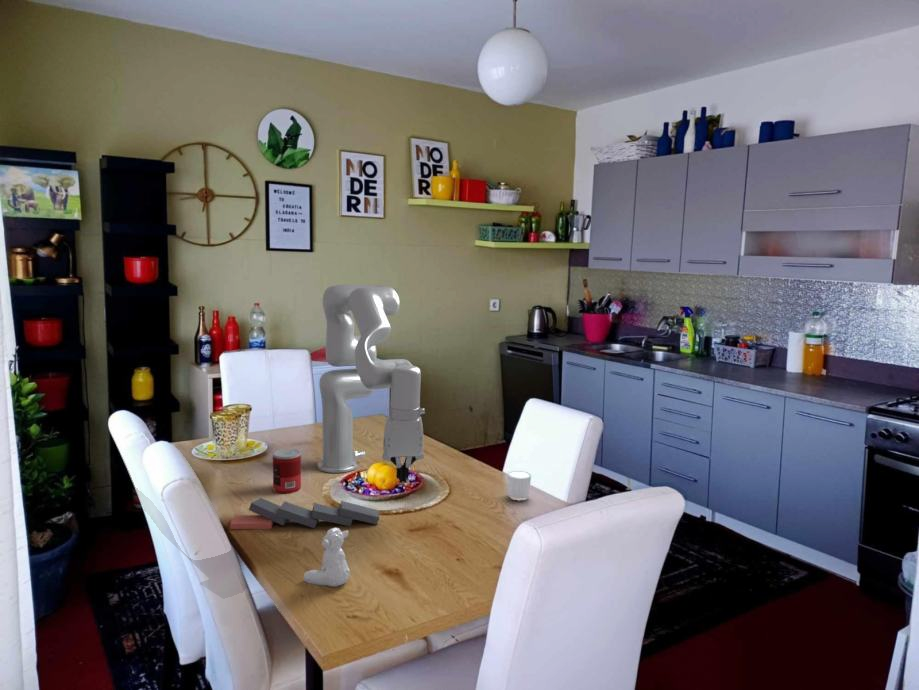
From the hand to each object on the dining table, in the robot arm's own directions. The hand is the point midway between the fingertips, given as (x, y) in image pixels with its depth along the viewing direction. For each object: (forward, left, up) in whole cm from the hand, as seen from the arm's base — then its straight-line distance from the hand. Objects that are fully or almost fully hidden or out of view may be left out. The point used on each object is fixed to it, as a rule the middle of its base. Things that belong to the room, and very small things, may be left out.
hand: (402, 480), depth 175 cm
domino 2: (+20, -9, -9) cm, 24 cm away
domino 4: (+6, -2, -9) cm, 11 cm away
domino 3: (+12, -6, -9) cm, 16 cm away
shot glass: (-35, +9, -10) cm, 38 cm away
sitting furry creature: (+32, +17, -10) cm, 37 cm away
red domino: (+28, -17, -10) cm, 34 cm away
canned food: (+14, -37, -10) cm, 41 cm away
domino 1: (+25, -15, -9) cm, 30 cm away
